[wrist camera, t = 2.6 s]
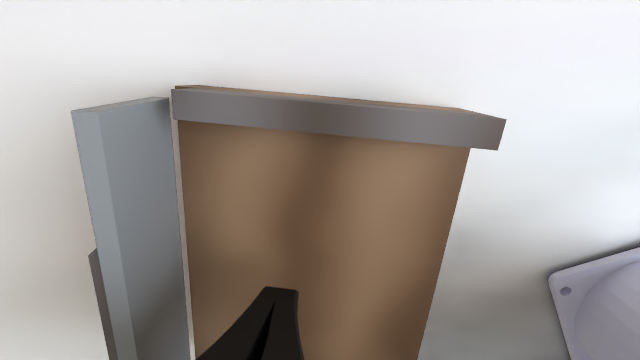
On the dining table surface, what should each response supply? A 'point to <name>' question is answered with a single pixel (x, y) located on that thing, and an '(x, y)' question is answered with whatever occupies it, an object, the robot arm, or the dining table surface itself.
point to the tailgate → (134, 228)
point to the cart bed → (321, 211)
